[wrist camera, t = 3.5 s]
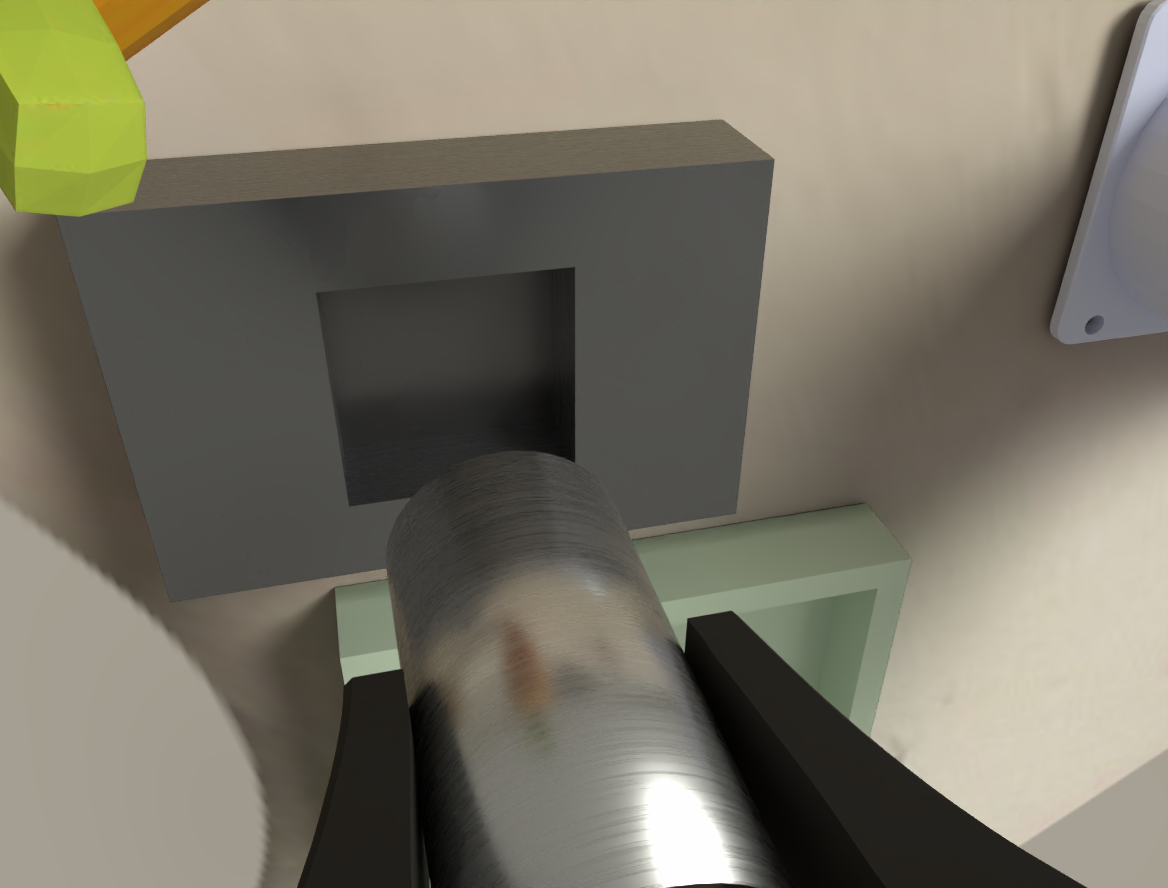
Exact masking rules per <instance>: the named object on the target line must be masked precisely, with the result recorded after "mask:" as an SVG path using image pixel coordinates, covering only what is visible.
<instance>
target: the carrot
mask: <svg viewBox="0 0 1168 888" xmlns="http://www.w3.org/2000/svg"><path fill="white" fill-rule="evenodd" d="M208 1H209V0H0V188H1V189H2V191H3V192H4V194H5V196H6V197H7V199H8V200H9V202H10V203H11V205H12V206H13V208H14V209H15V211H16V212H27V213H40V214H52V215H64V216H77V217H80V216H84V215H88V214H91V213H95V212H99V211H103V210H106V209H110V208H114V207H117V206H121V205H125V204H128V203H132V202H134V198H135V195H136V192H137V189H138V186H139V183H140V179H141V176H142V173H143V170H144V167H145V164H146V161H147V148H146V125H145V103H144V101H143V98H142V96H141V94H140V92H139V90H138V87H137V85H136V83H135V81H134V79H133V76H132V74H131V72H130V70H129V68H128V65H127V63H126V61H127V60H128V59H130V58H131V57H132V56H134V55H135V54H137V53H138V52H139V51H141V50H142V49H143V48H145V47H146V46H148V45H149V44H150V43H152V42H153V41H154V40H156V39H157V38H158V37H160V36H161V35H163V34H164V33H165V32H167V31H168V30H169V29H171V28H172V27H174V26H175V25H176V24H178V23H179V22H180V21H182V20H183V19H184V18H186V17H187V16H189V15H190V14H191V13H193V12H194V11H195V10H197V9H198V8H200V7H201V6H202V5H204V4H205V3H206V2H208Z"/></svg>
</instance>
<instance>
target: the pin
mask: <svg viewBox="0 0 1168 888" xmlns="http://www.w3.org/2000/svg"><path fill="white" fill-rule="evenodd" d="M386 570H387V577H388V584H389V591H390V598H391V606H392V613H393V620H394V627H395V634H396V642H397V649H398V656H399V663H400V669H403V672H404V679H405V686H406V693H407V700H408V707H409V714H410V721H411V729H412V736H413V744H414V752H415V759H416V767H417V775H418V790H419V802H420V814H421V821H422V829H423V836H424V843H425V850H426V857H427V865H428V872H429V879H430V886H431V888H793V885H792V883H791V881H790V879H789V877H788V875H787V873H786V870H785V868H784V866H783V864H782V862H781V860H780V857H779V855H778V853H777V851H776V849H775V847H774V845H773V842H772V840H771V838H770V836H769V834H768V832H767V830H766V827H765V825H764V823H763V821H762V819H761V817H760V815H759V812H758V810H757V808H756V806H755V804H754V802H753V800H752V797H751V795H750V793H749V791H748V789H747V787H746V785H745V782H744V780H743V778H742V776H741V774H740V772H739V770H738V767H737V765H736V763H735V761H734V759H733V757H732V754H731V752H730V750H729V748H728V746H727V744H726V742H725V739H724V737H723V735H722V733H721V731H720V729H719V727H718V724H717V722H716V720H715V718H714V716H713V714H712V712H711V709H710V707H709V705H708V703H707V701H706V699H705V697H704V694H703V692H702V690H701V688H700V686H699V684H698V682H697V679H696V677H695V675H694V673H693V671H692V669H691V667H690V664H689V662H688V660H687V658H686V656H685V654H684V652H683V649H682V647H681V645H680V643H679V641H678V639H677V636H676V634H675V632H674V630H673V628H672V626H671V624H670V621H669V619H668V617H667V615H666V613H665V611H664V609H663V606H662V604H661V602H660V600H659V598H658V596H657V594H656V591H655V589H654V587H653V585H652V583H651V581H650V579H649V576H648V574H647V572H646V570H645V568H644V566H643V564H642V561H641V559H640V557H639V555H638V553H637V551H636V549H635V546H634V544H633V542H632V540H631V538H630V536H629V533H628V531H627V529H626V527H625V525H624V523H623V521H622V518H621V516H620V514H619V512H618V510H617V508H616V506H615V503H614V501H613V499H612V497H611V496H610V494H609V492H608V491H607V489H606V488H605V487H604V485H603V484H602V483H601V482H600V481H599V480H598V479H597V478H596V477H595V476H594V475H593V474H591V473H590V472H589V471H588V470H586V469H585V468H583V467H581V466H580V465H578V464H576V463H574V462H572V461H570V460H567V459H565V458H563V457H559V456H555V455H552V454H548V453H541V452H535V451H508V452H499V453H493V454H488V455H484V456H480V457H477V458H474V459H471V460H468V461H465V462H463V463H461V464H458V465H456V466H454V467H452V468H450V469H448V470H447V471H445V472H443V473H441V474H439V475H438V476H437V477H435V478H434V479H432V480H431V481H430V482H428V483H427V484H426V485H425V486H423V487H422V488H421V489H420V490H419V491H418V492H417V493H416V494H415V495H414V496H413V497H412V498H411V499H410V501H409V502H408V503H407V504H406V505H405V507H404V508H403V510H402V511H401V513H400V514H399V516H398V517H397V519H396V521H395V524H394V526H393V528H392V530H391V533H390V536H389V540H388V543H387V551H386Z"/></svg>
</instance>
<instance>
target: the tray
mask: <svg viewBox="0 0 1168 888" xmlns="http://www.w3.org/2000/svg"><path fill="white" fill-rule="evenodd" d="M632 542H633V544H634V546H635V549H636V551H637V553H638V555H639V557H640V559H641V561H642V564H643V566H644V568H645V570H646V572H647V574H648V576H649V579H650V581H651V583H652V585H653V587H654V589H655V591H656V594H657V596H658V598H659V600H660V602H661V604H662V606H663V609H664V611H665V613H666V615H667V617H668V619H669V621H670V624H671V626H672V628H673V630H674V632H675V634H676V636H677V639H678V641H679V643H680V645H681V647H682V649H683V652H685V640H686V628H687V618H692V617H697V616H703V615H709V614H714V613H720V612H726V611H731V610H732V611H733V612H734V613H735V614H737V615H738V616H739V617H740V618H741V619H742V620H743V621H744V622H745V623H746V624H747V625H748V626H749V627H750V628H751V629H752V630H753V631H754V632H755V633H757V634H758V635H759V636H760V637H761V638H762V639H763V640H764V641H765V642H766V643H767V644H768V645H769V646H770V647H771V648H772V649H773V650H774V651H775V652H776V653H777V654H778V655H779V656H780V657H781V658H782V659H783V660H784V661H785V662H786V663H787V664H789V665H790V666H791V667H792V668H793V669H794V670H795V671H796V672H797V673H798V674H799V675H800V676H801V677H802V678H803V679H804V680H805V681H807V682H808V683H809V684H810V685H811V686H812V687H813V688H814V689H815V690H816V691H817V692H818V693H820V694H821V695H822V696H823V697H824V698H825V699H826V700H827V701H828V702H830V703H831V704H832V705H833V706H834V707H835V708H836V709H837V710H839V711H840V712H841V713H842V714H843V715H844V716H845V717H847V718H848V719H849V720H850V721H851V722H852V723H853V724H855V725H856V726H857V727H858V728H859V729H860V730H861V731H863V732H864V733H865V734H866V735H867V736H868V737H870V735H871V731H872V726H873V722H874V718H875V714H876V710H877V705H878V701H879V697H880V693H881V688H882V684H883V680H884V676H885V672H886V667H887V663H888V659H889V655H890V651H891V646H892V642H893V638H894V634H895V629H896V625H897V621H898V617H899V613H900V608H901V604H902V600H903V596H904V591H905V587H906V583H907V579H908V575H909V570H910V566H911V562H912V558H911V557H910V556H909V554H908V553H907V552H906V551H905V549H904V548H903V547H902V546H901V545H900V543H899V542H898V541H897V540H896V538H895V537H894V536H893V535H892V534H891V532H890V531H889V530H888V529H887V527H886V526H885V525H884V524H883V522H882V521H881V520H880V519H879V518H878V516H877V515H876V514H875V513H874V511H873V510H872V509H871V508H870V507H869V505H868V504H867V503H863V504H857V505H851V506H844V507H838V508H832V509H826V510H819V511H813V512H807V513H801V514H794V515H788V516H782V517H775V518H769V519H763V520H757V521H750V522H744V523H738V524H732V525H725V526H719V527H713V528H707V529H700V530H694V531H688V532H681V533H675V534H669V535H663V536H656V537H650V538H644V539H638V540H632ZM335 598H336V612H337V626H338V639H339V653H340V662H341V667H342V673H343V679H344V684H346V683H347V682H348V681H349V680H350V679H351V678H352V677H358V676H363V675H369V674H375V673H380V672H386V671H392V670H397V669H400V663H399V656H398V649H397V642H396V634H395V627H394V620H393V613H392V606H391V598H390V591H389V584H388V579H387V580H381V581H374V582H368V583H362V584H356V585H349V586H343V587H337V588H335ZM429 881H430V879H429ZM430 888H431V886H430Z"/></svg>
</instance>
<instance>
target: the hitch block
mask: <svg viewBox="0 0 1168 888" xmlns="http://www.w3.org/2000/svg"><path fill="white" fill-rule="evenodd" d="M773 168H774V158H772V157H771V156H770V155H768V154H767V153H766V152H764V151H763V150H762V149H761V148H759V147H758V146H757V145H755V144H754V143H753V142H751V141H750V140H749V139H747V138H746V137H745V136H744V135H742V134H741V133H740V132H738V131H737V130H736V129H734V128H733V127H732V126H730V125H729V124H728V123H726V122H725V121H724V120H710V121H696V122H682V123H667V124H653V125H639V126H625V127H610V128H596V129H582V130H568V131H553V132H539V133H525V134H510V135H496V136H482V137H468V138H453V139H439V140H425V141H411V142H396V143H382V144H368V145H354V146H339V147H325V148H311V149H296V150H282V151H268V152H254V153H239V154H225V155H211V156H197V157H182V158H168V159H154V160H147V161H146V164H145V167H144V170H143V173H142V176H141V179H140V183H139V186H138V189H137V192H136V195H135V198H134V202H132V203H128V204H125V205H121V206H117V207H114V208H110V209H106V210H103V211H99V212H95V213H91V214H88V215H84V216H80V217H77V216H64V215H56V219H57V222H58V225H59V229H60V232H61V235H62V239H63V242H64V245H65V249H66V252H67V256H68V259H69V262H70V266H71V269H72V272H73V276H74V279H75V283H76V286H77V289H78V293H79V296H80V299H81V303H82V306H83V309H84V313H85V316H86V320H87V323H88V326H89V330H90V333H91V336H92V340H93V343H94V347H95V350H96V353H97V357H98V360H99V363H100V367H101V370H102V373H103V377H104V380H105V384H106V387H107V390H108V394H109V397H110V400H111V404H112V407H113V411H114V414H115V417H116V421H117V424H118V427H119V431H120V434H121V438H122V441H123V444H124V448H125V451H126V454H127V458H128V461H129V464H130V468H131V471H132V475H133V478H134V481H135V485H136V488H137V491H138V495H139V498H140V502H141V505H142V508H143V512H144V515H145V518H146V522H147V525H148V528H149V532H150V535H151V539H152V542H153V545H154V549H155V552H156V555H157V559H158V562H159V566H160V569H161V572H162V576H163V579H164V582H165V586H166V589H167V592H168V596H169V599H170V602H175V601H181V600H188V599H194V598H200V597H207V596H213V595H219V594H226V593H232V592H239V591H245V590H251V589H258V588H264V587H270V586H277V585H283V584H289V583H296V582H302V581H308V580H315V579H321V578H328V577H334V576H340V575H347V574H353V573H359V572H366V571H372V570H378V569H385V568H386V551H387V543H388V540H389V536H390V533H391V530H392V528H393V526H394V524H395V521H396V519H397V517H398V516H399V514H400V513H401V511H402V510H403V508H404V507H405V505H406V504H407V503H408V502H409V501H410V499H411V498H412V497H413V496H414V495H415V494H416V493H417V492H418V491H419V490H420V489H421V488H422V487H423V486H425V485H426V484H427V483H428V482H430V481H431V480H432V479H434V478H435V477H437V476H438V475H439V474H441V473H443V472H445V471H447V470H448V469H450V468H452V467H454V466H456V465H458V464H461V463H463V462H465V461H468V460H471V459H474V458H477V457H480V456H484V455H488V454H493V453H499V452H508V451H535V452H541V453H548V454H552V455H555V456H559V457H563V458H565V459H567V460H570V461H572V462H574V463H576V464H578V465H580V466H581V467H583V468H585V469H586V470H588V471H589V472H590V473H591V474H593V475H594V476H595V477H596V478H597V479H598V480H599V481H600V482H601V483H602V484H603V485H604V487H605V488H606V489H607V491H608V492H609V494H610V496H611V497H612V499H613V501H614V503H615V506H616V508H617V510H618V512H619V514H620V516H621V518H622V521H623V523H624V525H625V527H626V529H627V530H633V529H639V528H646V527H652V526H658V525H665V524H671V523H677V522H684V521H690V520H696V519H703V518H709V517H716V516H722V515H728V514H735V513H736V508H737V499H738V490H739V481H740V471H741V462H742V453H743V444H744V435H745V425H746V416H747V407H748V398H749V389H750V380H751V370H752V361H753V352H754V343H755V334H756V324H757V315H758V306H759V297H760V288H761V279H762V269H763V260H764V251H765V242H766V233H767V224H768V214H769V205H770V196H771V187H772V178H773Z"/></svg>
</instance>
